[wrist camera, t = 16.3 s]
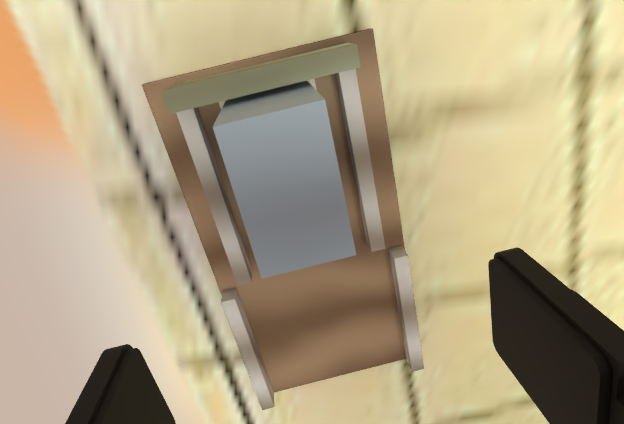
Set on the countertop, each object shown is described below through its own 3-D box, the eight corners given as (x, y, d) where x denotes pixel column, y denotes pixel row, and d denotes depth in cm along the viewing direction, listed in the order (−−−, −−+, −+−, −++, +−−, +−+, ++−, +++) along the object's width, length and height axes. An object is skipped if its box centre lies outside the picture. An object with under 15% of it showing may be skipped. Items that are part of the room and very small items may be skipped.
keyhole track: (418, 351, 36) (433, 382, 32) (260, 392, 35) (259, 426, 32) (371, 28, 25) (386, 28, 22) (143, 84, 25) (126, 91, 22)
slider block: (331, 197, 29) (356, 254, 21) (261, 215, 28) (261, 278, 21) (306, 79, 25) (325, 99, 18) (226, 99, 25) (212, 127, 18)
